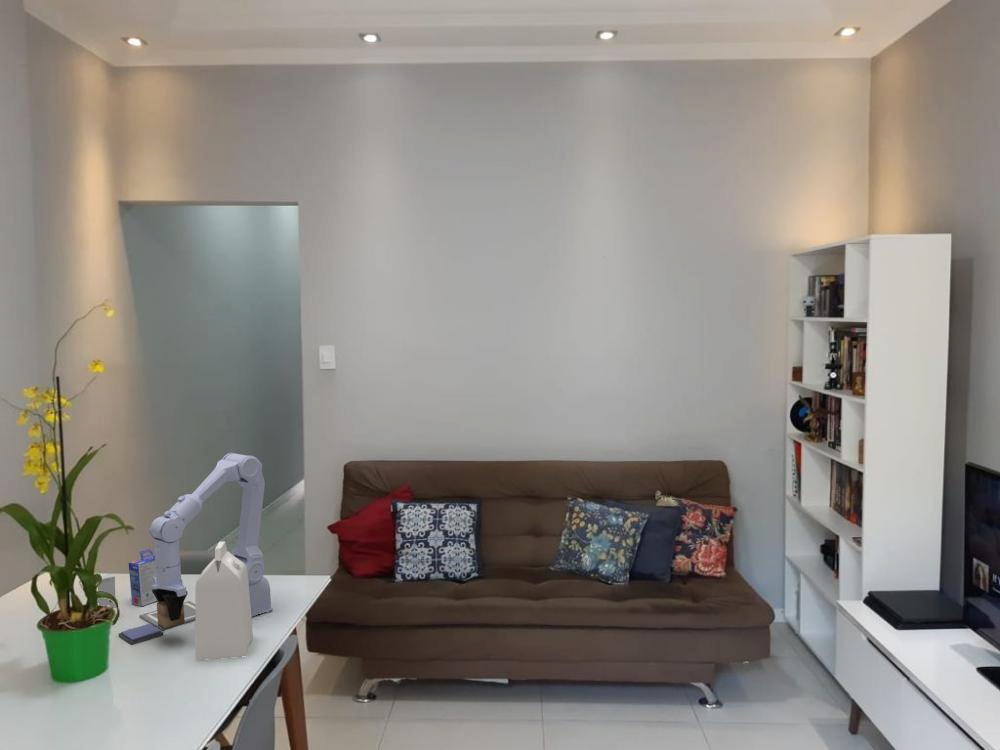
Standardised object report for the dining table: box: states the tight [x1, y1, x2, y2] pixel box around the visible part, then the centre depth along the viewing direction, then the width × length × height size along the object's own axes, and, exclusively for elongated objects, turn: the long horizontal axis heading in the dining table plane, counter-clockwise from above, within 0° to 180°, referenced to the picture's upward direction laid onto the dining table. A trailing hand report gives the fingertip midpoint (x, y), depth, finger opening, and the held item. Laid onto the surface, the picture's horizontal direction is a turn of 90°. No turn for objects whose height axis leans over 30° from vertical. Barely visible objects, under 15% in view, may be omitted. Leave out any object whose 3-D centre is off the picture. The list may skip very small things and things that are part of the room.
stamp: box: [156, 601, 185, 631], centre depth 199 cm, size 5×4×6 cm
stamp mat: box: [138, 600, 195, 632], centre depth 216 cm, size 14×14×1 cm
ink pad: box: [118, 623, 164, 646], centre depth 203 cm, size 8×8×1 cm
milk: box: [194, 540, 254, 661], centre depth 193 cm, size 12×12×26 cm
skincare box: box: [98, 572, 116, 607], centre depth 214 cm, size 6×4×12 cm
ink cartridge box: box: [128, 548, 158, 607], centre depth 228 cm, size 10×6×14 cm, turn 148°
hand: (171, 617), depth 199 cm, fingers closed on stamp, 4 cm apart
